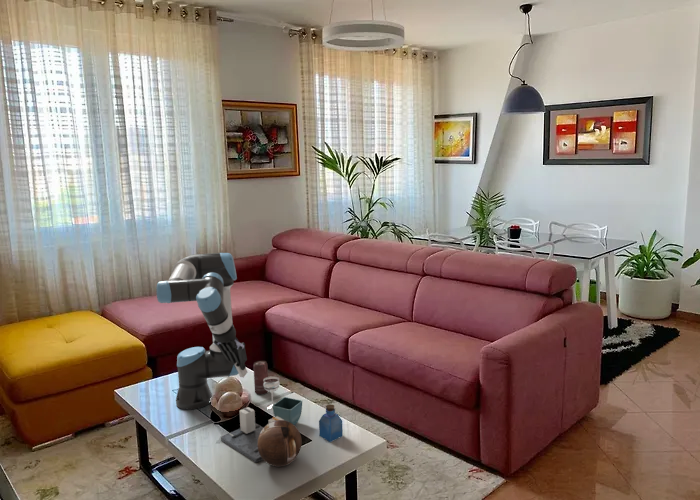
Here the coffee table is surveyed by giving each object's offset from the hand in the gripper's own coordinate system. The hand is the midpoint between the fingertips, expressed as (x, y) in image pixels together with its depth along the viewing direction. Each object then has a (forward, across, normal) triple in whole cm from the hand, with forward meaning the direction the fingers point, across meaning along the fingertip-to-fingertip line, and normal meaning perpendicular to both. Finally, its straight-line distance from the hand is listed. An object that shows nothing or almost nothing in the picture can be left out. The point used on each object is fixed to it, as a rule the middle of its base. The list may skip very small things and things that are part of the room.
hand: (243, 374), depth 200 cm
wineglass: (+35, -7, +12) cm, 38 cm away
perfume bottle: (+30, +27, +4) cm, 41 cm away
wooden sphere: (+20, +21, -18) cm, 34 cm away
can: (+39, -20, +19) cm, 48 cm away
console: (+23, +5, -12) cm, 26 cm away
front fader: (+22, +13, -9) cm, 27 cm away
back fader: (+23, -1, -8) cm, 24 cm away
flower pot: (+30, +8, +3) cm, 32 cm away
